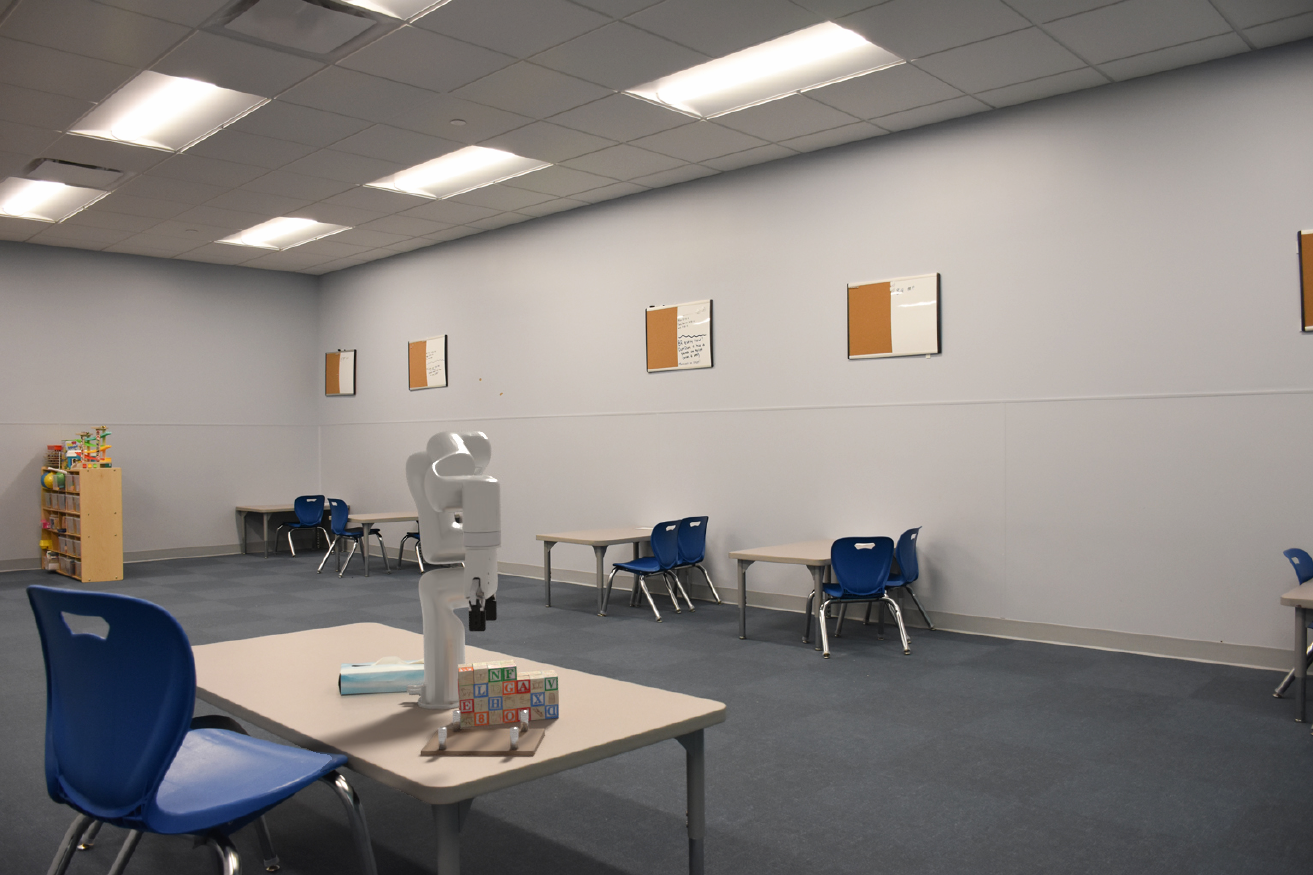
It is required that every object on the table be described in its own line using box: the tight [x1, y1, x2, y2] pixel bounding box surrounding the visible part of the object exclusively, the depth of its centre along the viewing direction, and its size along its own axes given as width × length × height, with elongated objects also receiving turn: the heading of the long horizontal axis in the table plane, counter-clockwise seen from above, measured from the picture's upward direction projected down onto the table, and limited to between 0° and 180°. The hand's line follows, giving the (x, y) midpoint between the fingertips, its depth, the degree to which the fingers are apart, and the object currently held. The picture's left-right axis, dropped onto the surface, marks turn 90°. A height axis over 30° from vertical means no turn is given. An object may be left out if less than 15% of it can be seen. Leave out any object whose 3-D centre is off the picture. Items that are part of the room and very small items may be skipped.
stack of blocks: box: [458, 659, 560, 728], centre depth 201 cm, size 21×6×12 cm, turn 104°
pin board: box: [420, 709, 546, 757], centre depth 183 cm, size 22×13×6 cm, turn 88°
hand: (483, 625), depth 183 cm, fingers open, 9 cm apart
